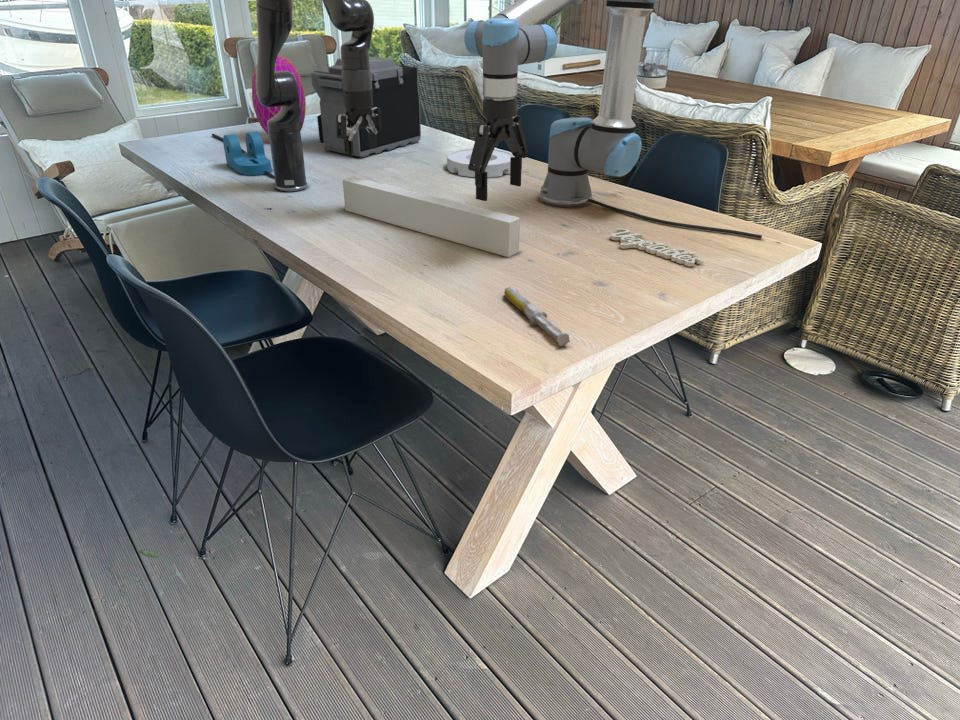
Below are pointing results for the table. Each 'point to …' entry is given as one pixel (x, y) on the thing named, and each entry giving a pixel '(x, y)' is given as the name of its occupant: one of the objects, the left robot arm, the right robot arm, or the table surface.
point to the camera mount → (246, 154)
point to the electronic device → (390, 94)
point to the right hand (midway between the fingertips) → (499, 192)
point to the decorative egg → (269, 112)
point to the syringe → (536, 316)
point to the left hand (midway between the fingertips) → (361, 151)
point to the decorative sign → (653, 247)
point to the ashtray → (495, 167)
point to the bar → (433, 216)
